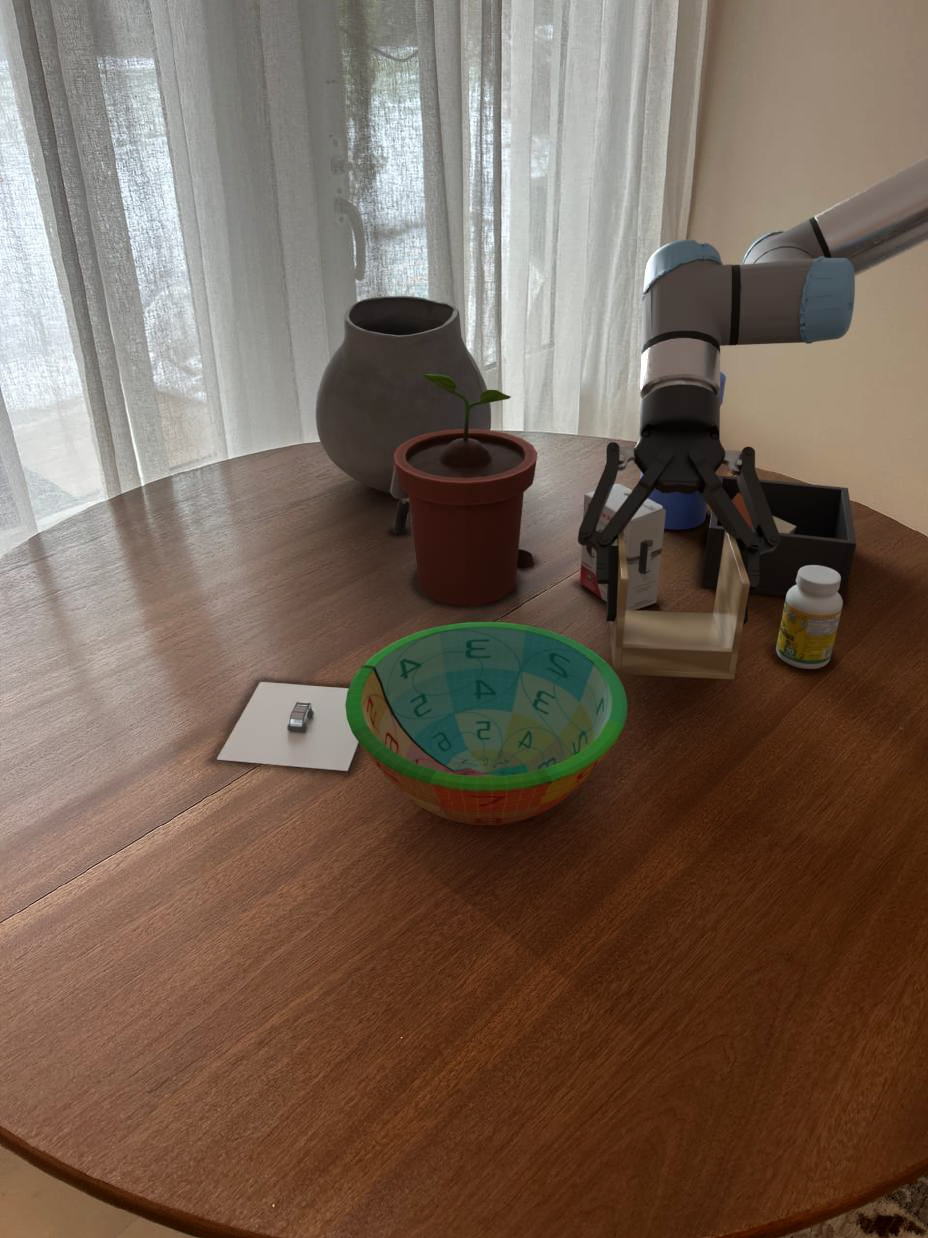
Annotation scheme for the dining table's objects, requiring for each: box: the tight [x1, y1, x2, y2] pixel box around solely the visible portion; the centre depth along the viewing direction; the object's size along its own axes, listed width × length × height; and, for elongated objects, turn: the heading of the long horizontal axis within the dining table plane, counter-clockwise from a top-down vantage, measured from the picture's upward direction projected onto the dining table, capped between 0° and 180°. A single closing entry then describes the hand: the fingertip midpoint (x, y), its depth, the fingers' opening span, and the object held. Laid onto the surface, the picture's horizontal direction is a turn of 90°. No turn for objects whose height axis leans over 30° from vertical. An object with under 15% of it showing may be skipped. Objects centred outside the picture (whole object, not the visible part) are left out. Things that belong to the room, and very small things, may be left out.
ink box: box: [579, 483, 666, 610], centre depth 104 cm, size 8×5×12 cm, turn 31°
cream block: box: [751, 516, 796, 534], centre depth 112 cm, size 4×4×4 cm
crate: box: [609, 530, 750, 680], centre depth 86 cm, size 11×11×10 cm
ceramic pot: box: [315, 295, 492, 495], centre depth 128 cm, size 24×24×25 cm
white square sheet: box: [216, 681, 359, 772], centre depth 86 cm, size 12×12×2 cm
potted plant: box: [390, 374, 538, 606], centre depth 106 cm, size 18×22×25 cm
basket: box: [700, 474, 857, 602], centre depth 111 cm, size 16×16×8 cm
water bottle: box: [639, 371, 727, 530], centre depth 118 cm, size 9×9×25 cm
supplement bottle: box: [775, 565, 844, 670], centre depth 93 cm, size 5×5×10 cm
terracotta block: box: [717, 493, 753, 528], centre depth 114 cm, size 4×4×4 cm
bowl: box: [345, 621, 628, 826], centre depth 76 cm, size 22×22×10 cm
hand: (675, 621), depth 84 cm, fingers closed on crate, 11 cm apart
